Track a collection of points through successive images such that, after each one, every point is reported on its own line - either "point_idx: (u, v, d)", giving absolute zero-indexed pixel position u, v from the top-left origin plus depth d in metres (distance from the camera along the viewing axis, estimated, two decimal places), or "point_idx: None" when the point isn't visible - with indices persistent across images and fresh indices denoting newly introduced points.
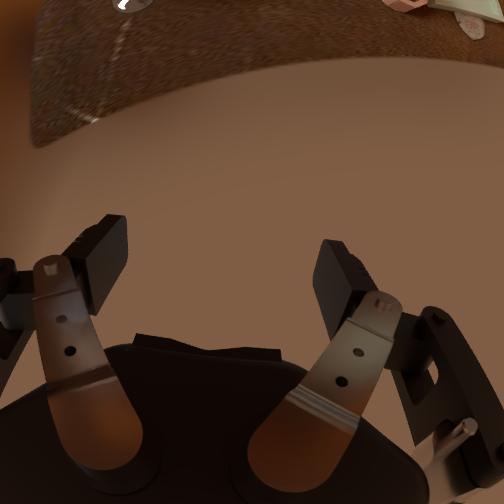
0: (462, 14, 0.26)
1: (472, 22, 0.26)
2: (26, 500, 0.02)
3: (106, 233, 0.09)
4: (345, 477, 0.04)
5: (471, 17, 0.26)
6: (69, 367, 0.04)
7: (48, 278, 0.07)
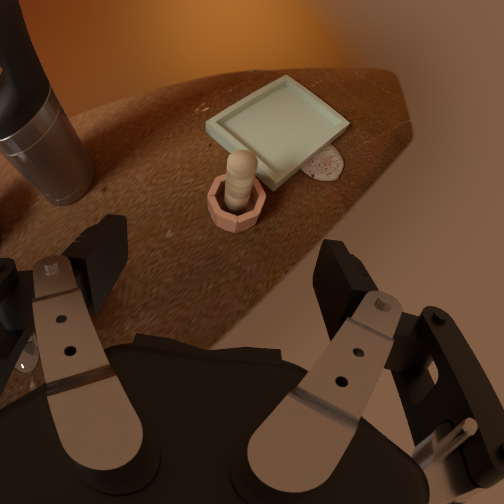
0: (309, 162, 0.42)
1: (324, 160, 0.43)
2: (26, 500, 0.02)
3: (106, 233, 0.09)
4: (345, 477, 0.04)
5: (319, 155, 0.43)
6: (69, 368, 0.04)
7: (48, 278, 0.07)
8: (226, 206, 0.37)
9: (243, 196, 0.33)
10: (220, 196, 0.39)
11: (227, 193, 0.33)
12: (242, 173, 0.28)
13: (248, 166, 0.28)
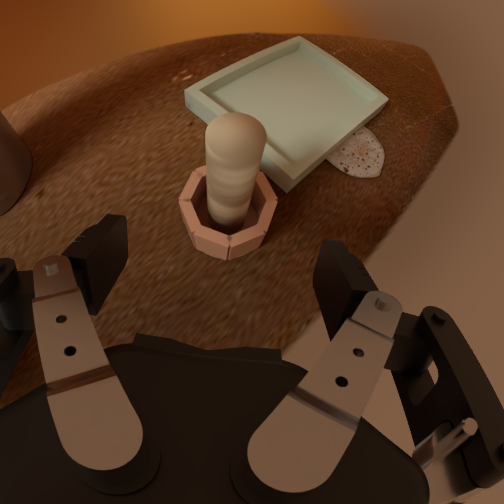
0: (339, 151, 0.28)
1: (358, 148, 0.28)
2: (26, 500, 0.02)
3: (106, 233, 0.09)
4: (345, 477, 0.04)
5: (351, 140, 0.28)
6: (68, 368, 0.04)
7: (48, 278, 0.07)
8: (211, 218, 0.22)
9: (238, 202, 0.18)
10: (203, 200, 0.25)
11: (210, 196, 0.19)
12: (235, 156, 0.14)
13: (247, 142, 0.14)
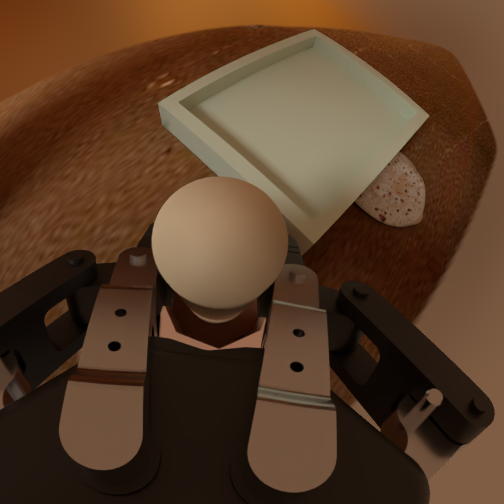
0: (373, 190, 0.20)
1: (396, 183, 0.21)
2: (3, 498, 0.02)
3: None
4: (345, 477, 0.04)
5: (386, 173, 0.21)
6: (105, 361, 0.04)
7: (141, 269, 0.08)
8: None
9: (231, 317, 0.11)
10: None
11: None
12: (217, 298, 0.06)
13: (245, 260, 0.06)
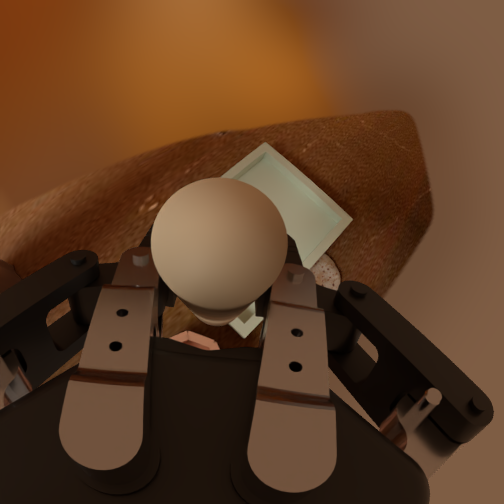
0: None
1: None
2: (3, 498, 0.02)
3: None
4: (345, 477, 0.04)
5: None
6: (106, 361, 0.04)
7: (144, 269, 0.08)
8: None
9: (231, 318, 0.11)
10: None
11: None
12: (216, 299, 0.06)
13: (245, 261, 0.06)
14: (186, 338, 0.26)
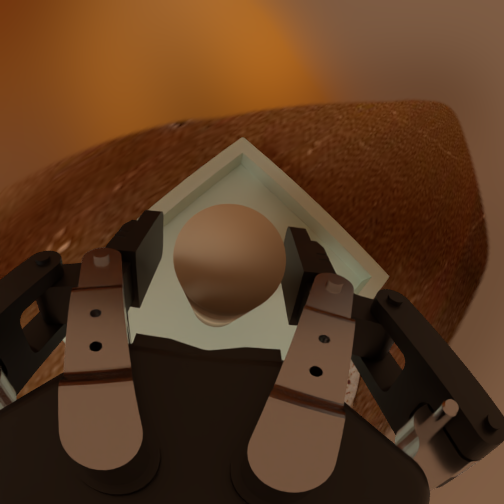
0: None
1: None
2: (12, 500, 0.02)
3: (149, 228, 0.10)
4: (345, 477, 0.04)
5: None
6: (89, 362, 0.04)
7: (102, 270, 0.07)
8: (195, 314, 0.16)
9: (233, 320, 0.12)
10: None
11: None
12: (228, 306, 0.08)
13: (251, 275, 0.08)
14: None
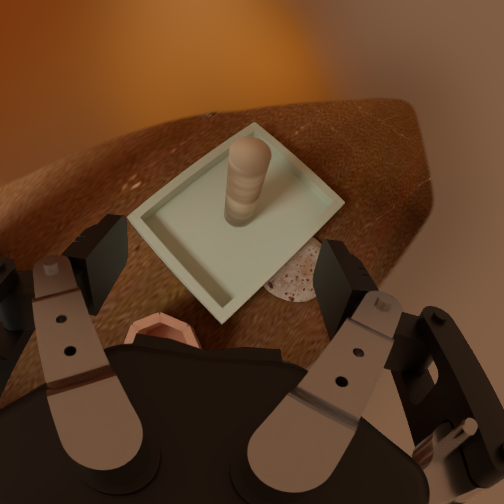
0: (283, 279, 0.30)
1: (302, 267, 0.31)
2: (26, 500, 0.02)
3: (106, 233, 0.09)
4: (345, 477, 0.04)
5: (293, 260, 0.31)
6: (69, 367, 0.04)
7: (48, 278, 0.07)
8: (227, 213, 0.28)
9: (250, 200, 0.25)
10: (147, 334, 0.27)
11: (229, 196, 0.25)
12: (249, 168, 0.20)
13: (258, 159, 0.20)
14: (158, 320, 0.24)
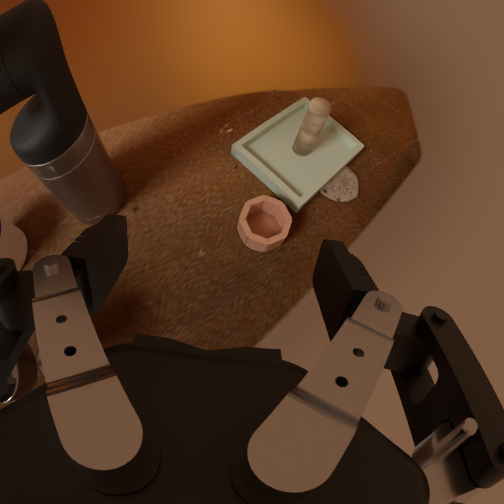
0: (331, 188, 0.46)
1: (341, 181, 0.46)
2: (26, 500, 0.02)
3: (106, 233, 0.09)
4: (345, 477, 0.04)
5: (336, 177, 0.46)
6: (68, 368, 0.04)
7: (48, 278, 0.07)
8: (298, 145, 0.44)
9: (315, 134, 0.41)
10: (248, 218, 0.43)
11: (303, 131, 0.41)
12: (322, 111, 0.36)
13: (325, 108, 0.36)
14: (263, 199, 0.40)
